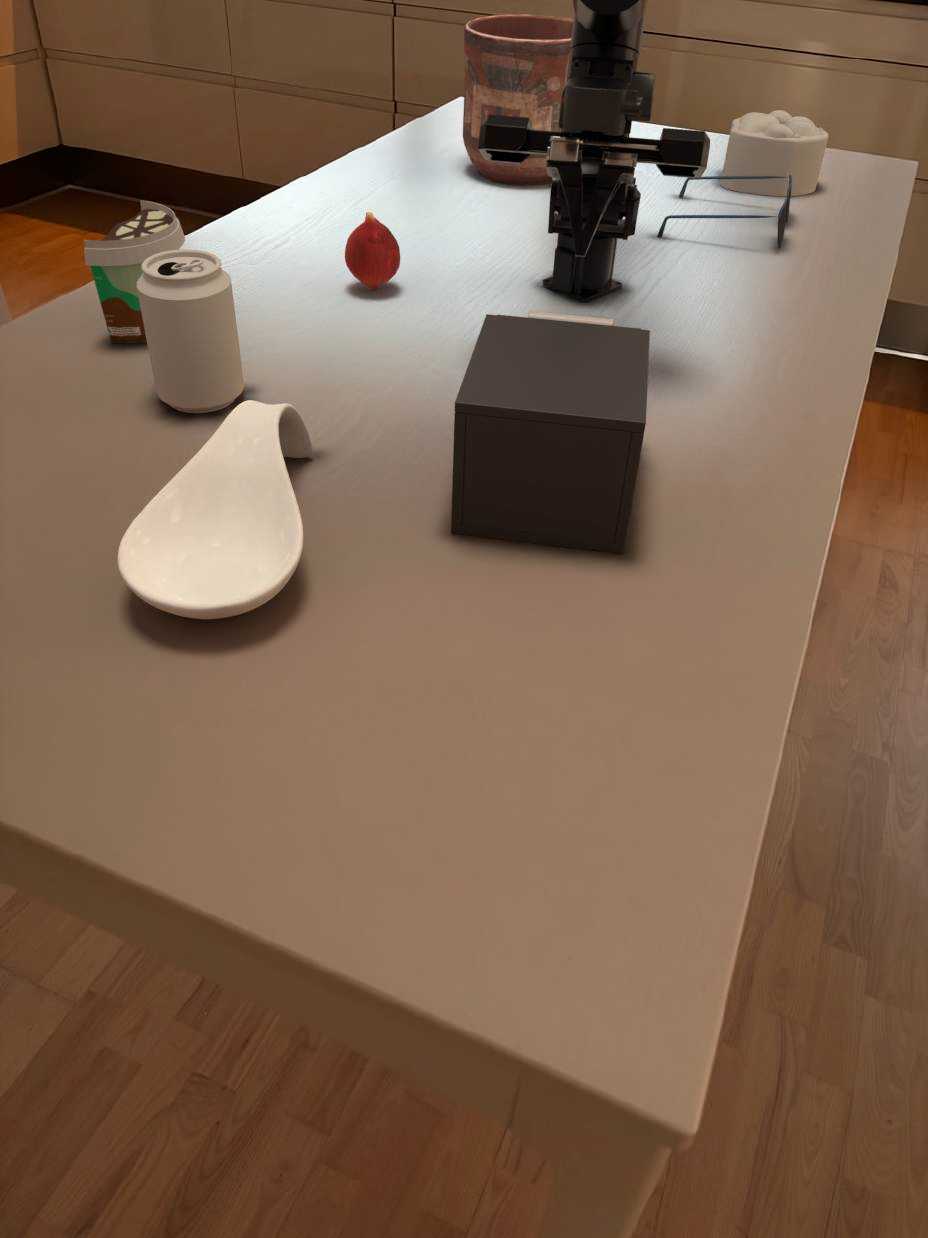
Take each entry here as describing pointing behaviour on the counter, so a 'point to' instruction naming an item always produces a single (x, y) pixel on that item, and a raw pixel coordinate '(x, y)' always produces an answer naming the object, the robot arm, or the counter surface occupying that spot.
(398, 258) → the onion
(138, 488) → the counter surface
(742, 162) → the lumpy-topped squat cylinder
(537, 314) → the drawer
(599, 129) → the robot arm
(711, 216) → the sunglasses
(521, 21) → the pottery
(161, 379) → the can
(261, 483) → the spoon rest
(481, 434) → the dark grey storage box
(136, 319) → the food container
